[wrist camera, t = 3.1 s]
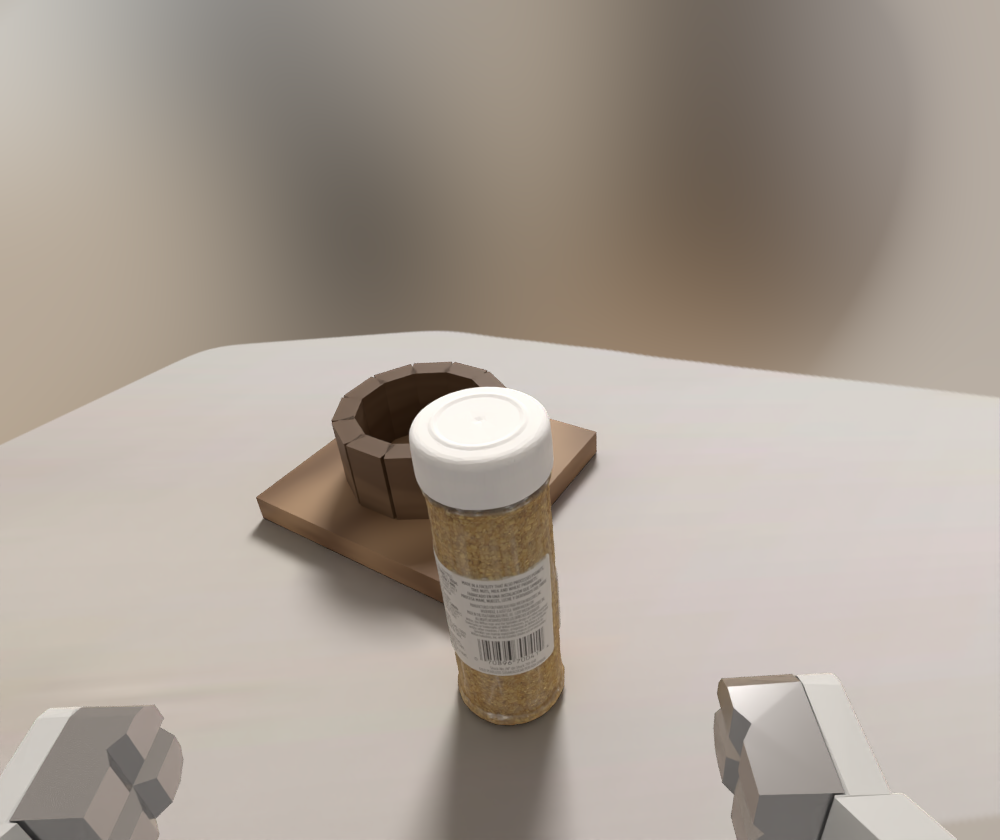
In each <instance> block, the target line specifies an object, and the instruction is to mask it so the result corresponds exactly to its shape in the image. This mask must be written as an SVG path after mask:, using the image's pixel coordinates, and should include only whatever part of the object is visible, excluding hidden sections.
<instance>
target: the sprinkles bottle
mask: <svg viewBox="0 0 1000 840" xmlns="http://www.w3.org/2000/svg"><path fill="white" fill-rule="evenodd" d="M409 443H410V450H411V456H412V462H413V467H414V472H415V477H416V480H417V482H418V484H419V486H420V488H421V491H422V494H423V495H424V497H425V499H426V504H427V508H428V515H429V518H430V522H431V530H432V536H433V549H434V555H435V560H436V564H437V569H438V574H439V579H440V585H441V590H442V596H443V601H444V606H445V612H446V617H447V622H448V627H449V632H450V638H451V642H452V645H453V648H454V650H455V655H456V661H457V665H458V671H459V674H458V686H459V691H460V693H461V696H462V699H463V701H464V703H465V704H466V705H467V706H468V707H469V709H470V710H471V711H472V712H474V713H475V714H476V715H478V716H479V717H480V718H482V719H485V720H487V721H489V722H492V723H494V724H500V725H515V724H523V723H526V722H529V721H532V720H534V719H536V718H539V717H540V716H542V715H543V714H544V713H546V712H547V711H548V710H549V709H550V708H551V707H552V706H553V705H554V704H555V702H556V700H557V699H558V697H559V696H560V693H561V692H562V690H563V687H564V666H563V664H562V660H561V653H560V637H559V636H560V635H559V628H560V624H561V623H560V605H559V587H558V573H557V569H556V566H555V553H554V540H553V524H552V513H551V501H550V487H549V482H550V479H551V475H552V471H551V470H552V468H553V460H554V459H553V445H552V434H551V425H550V419H549V416H548V414H547V412H546V410H545V408H544V407H543V406H542V405H541V404H540V403H539V402H538V401H537V400H536V399H534V398H533V397H531V396H529V395H527V394H525V393H522V392H519V391H516V390H513V389H508V388H501V387H476V388H470V389H464V390H460V391H456V392H453V393H450V394H448V395H445V396H443V397H440V398H438V399H436V400H435V401H433V402H432V403H430V404H429V405H427V406H426V407H425V408H424V409H422V410H421V411H420V412H419V413H418V415H417V416H416V417H415V419H414V421H413V422H412V425H411V428H410V431H409Z"/></svg>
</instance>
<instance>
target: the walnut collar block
mask: <svg viewBox="0 0 1000 840" xmlns="http://www.w3.org/2000/svg"><path fill="white" fill-rule="evenodd" d="M374 377H375V378H374ZM374 377H370V378H369V379H367V380H366V381H364V382H363V383H361V384H360V385H359V386H357V387H356V388H354V389H353V390H351V391H350V392H348V393H347V394H346V395H344V398H342V399H341V401H340V403H339V406H338V408H337V410H336V412H335V414H334V417H333V419H332V426H333V430H334V433H335V437H336V438H335V439H334V440H333V441H331V442H330V443H328V444H327V445H326V446H324V447H323V448H322V449H320V450H319V451H318V452H316V453H315V454H314V455H312V456H311V457H310V458H308V459H307V460H306V461H304V462H303V463H302V464H300V465H299V466H298V467H296V468H295V469H294V470H292V471H291V472H290V473H288V474H287V475H285V476H284V477H283V478H281V479H280V480H279V481H277V482H276V483H275V484H273V485H272V486H271V487H269V488H268V489H267V490H265V491H264V492H263V493H261V494H260V495H259V496H257V497H256V499H257V502H258V504H259V507H260V510H261V513H262V515H263V518H265V519H267V520H269V521H272V522H274V523H276V524H278V525H280V526H282V527H284V528H286V529H288V530H290V531H293V532H295V533H297V534H299V535H301V536H303V537H305V538H307V539H309V540H311V541H314V542H316V543H318V544H320V545H322V546H324V547H326V548H328V549H330V550H332V551H335V552H337V553H339V554H341V555H343V556H345V557H347V558H349V559H351V560H354V561H356V562H358V563H360V564H362V565H364V566H366V567H368V568H370V569H372V570H375V571H377V572H379V573H381V574H383V575H385V576H387V577H389V578H391V579H393V580H396V581H398V582H400V583H402V584H404V585H406V586H408V587H410V588H412V589H414V590H417V591H419V592H421V593H423V594H425V595H427V596H429V597H431V598H433V599H435V600H438V601H440V602H442V603H444V601H443V596H442V590H441V585H440V579H439V574H438V569H437V564H436V560H435V555H434V549H433V536H432V530H431V522H430V518H429V515H428V508H427V504H426V499H425V497H424V495H423V494H422V491H421V488H420V486H419V484H418V482H417V480H416V477H415V472H414V467H413V462H412V456H411V450H410V443H409V431H410V428H411V425H412V422H413V421H414V419H415V417H416V416H417V415H418V413H419V412H420V411H421V410H422V409H424V408H425V407H426V406H427V405H429V404H430V403H432V402H433V401H435V400H436V399H438V398H440V397H443V396H445V395H448V394H450V393H453V392H456V391H460V390H464V389H470V388H476V387H501V388H506V387H505V386H504V385H503V384H502V383H501V382H500V381H499V380H498V379H497V378H496V377H495V376H494V375H493V374H491V373H490V372H487V370H484V369H480V368H476V367H472V366H468V365H464V364H461V363H457V362H455V363H453V364H452V362H437V363H415V364H414V365H413V366H412V365H411V364H409V365H406V366H403V367H400V368H396V369H393V370H390V371H387V372H383V373H380V374H377V375H374ZM550 425H551V434H552V445H553V459H554V460H553V468H552V470H551V471H552V475H551V479H550V482H549V487H550V501H551V506H552V504H553V503H554V502H555V501H556V500H557V498H558V497H559V496H560V495H561V494H562V493H563V491H564V490H565V489H566V488H567V487H568V485H569V484H570V483H571V482H572V481H573V480H574V478H575V477H576V476H577V475H578V474H579V472H580V471H581V470H582V469H583V468H584V466H585V465H586V464H587V463H588V462H589V461H590V459H591V458H592V457H593V456H594V455H595V453H596V432H595V431H591V430H588V429H584V428H580V427H577V426H573V425H570V424H566V423H563V422H559V421H556V420H552V419H550Z"/></svg>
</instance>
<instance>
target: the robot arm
mask: <svg viewBox="0 0 1000 840" xmlns="http://www.w3.org/2000/svg"><path fill="white" fill-rule="evenodd" d="M717 695H718V699H719V703H720V707H721V709H719V710H718V711H717V712H716V713H715V716H714V742H715V751H716V757H717V762H718V767H719V771H720V775H721V779H722V783H723V784H724V785H725V786H726V787H727V788H728V789H729V790H730V791H731V792H732V793H733V794H734V798H733V805H732V812H731V819H732V823H733V827H734V830H735V834H736V838H737V840H958V839H956V838H955V837H954V836H953V835H952V834H951V833H949V832H948V831H947V830H946V829H945V828H944V827H943V826H941V825H940V824H939V823H938V822H937V821H936V820H934V819H933V818H932V817H931V816H930V815H929V814H928V813H926V812H925V811H924V810H923V809H922V808H921V807H919V806H918V805H917V804H916V803H915V802H914V801H913V800H911V799H910V798H909V797H908V796H907V795H906V794H904V793H892V792H891V790H890V788H889V786H888V783H887V781H886V779H885V777H884V775H883V772H882V770H881V768H880V766H879V764H878V761H877V759H876V757H875V755H874V753H873V751H872V748H871V746H870V744H869V742H868V740H867V737H866V735H865V733H864V731H863V729H862V727H861V724H860V722H859V720H858V718H857V716H856V713H855V711H854V709H853V707H852V705H851V702H850V700H849V698H848V696H847V694H846V692H845V689H844V687H843V685H842V683H841V681H840V680H839V679H838V678H837V677H836V676H835V675H834V674H832V673H820V674H804V675H793V674H784V675H768V676H752V677H736V678H722V679H721V680H720V681H719V684H718V691H717ZM163 719H164V717H163V716H162V714H161V713H160V712H159V710H158V709H157V707H156V706H155V705H130V706H101V707H65V708H49V709H47V710H46V711H45V712H44V713H43V714H41V715H40V716H39V717H38V718H37V719H36V720H35V721H34V723H33V725H32V726H31V728H30V729H29V731H28V733H27V734H26V736H25V737H24V739H23V740H22V742H21V744H20V745H19V747H18V748H17V750H16V751H15V753H14V755H13V756H12V758H11V759H10V761H9V763H8V764H7V766H6V767H5V769H4V770H3V772H2V774H1V775H0V840H157V839H158V837H159V830H158V826H157V821H156V818H157V817H158V816H159V815H160V814H161V813H162V812H163V811H164V810H165V809H166V808H167V807H168V806H169V805H170V804H171V803H172V802H173V800H174V797H175V794H176V792H177V789H178V787H179V784H180V781H181V774H182V766H183V756H182V750H181V745H180V744H179V742H178V740H177V739H176V737H175V736H174V735H173V734H171V733H169V732H167V731H166V730H164V729H162V728H160V726H161V723H162V721H163Z"/></svg>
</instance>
